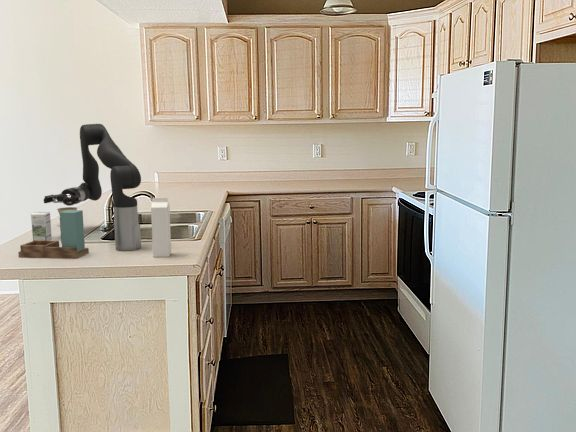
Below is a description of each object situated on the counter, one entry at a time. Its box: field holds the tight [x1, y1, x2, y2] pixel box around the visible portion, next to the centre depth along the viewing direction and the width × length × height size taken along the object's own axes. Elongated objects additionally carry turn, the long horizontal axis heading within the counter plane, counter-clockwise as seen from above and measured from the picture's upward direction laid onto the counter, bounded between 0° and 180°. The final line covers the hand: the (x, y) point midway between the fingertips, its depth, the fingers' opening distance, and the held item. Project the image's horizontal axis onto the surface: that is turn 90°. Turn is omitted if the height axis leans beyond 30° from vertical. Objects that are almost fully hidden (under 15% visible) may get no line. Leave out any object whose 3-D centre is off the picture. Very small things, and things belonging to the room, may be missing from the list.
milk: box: [150, 197, 172, 258], centre depth 218 cm, size 6×6×22 cm
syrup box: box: [30, 211, 53, 241], centre depth 233 cm, size 6×6×14 cm
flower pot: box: [56, 206, 78, 216], centre depth 285 cm, size 9×9×9 cm
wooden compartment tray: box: [18, 240, 90, 260], centre depth 220 cm, size 23×10×4 cm, turn 83°
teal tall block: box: [59, 209, 86, 252], centre depth 218 cm, size 7×6×15 cm
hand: (54, 201), depth 242 cm, fingers open, 8 cm apart
